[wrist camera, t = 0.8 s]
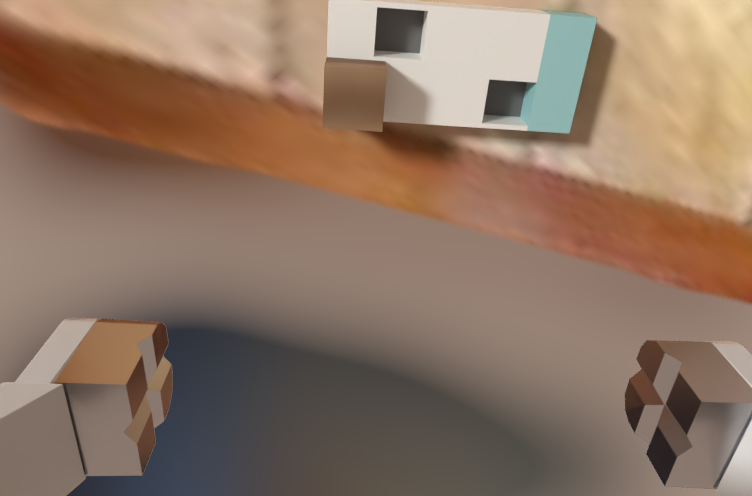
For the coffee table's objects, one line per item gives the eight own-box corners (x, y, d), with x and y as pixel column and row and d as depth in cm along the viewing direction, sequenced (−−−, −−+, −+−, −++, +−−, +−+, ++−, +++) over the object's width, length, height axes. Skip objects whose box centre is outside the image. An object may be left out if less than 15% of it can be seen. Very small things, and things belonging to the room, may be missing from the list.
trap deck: (330, -7, 40) (328, -3, 38) (584, 13, 41) (597, 18, 39) (326, 108, 44) (325, 117, 42) (559, 123, 45) (569, 133, 43)
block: (326, 57, 40) (324, 67, 37) (385, 61, 40) (387, 71, 37) (325, 114, 42) (322, 128, 39) (380, 118, 42) (382, 131, 39)
